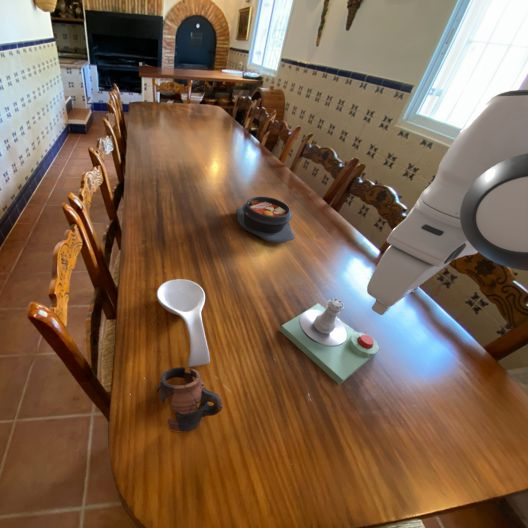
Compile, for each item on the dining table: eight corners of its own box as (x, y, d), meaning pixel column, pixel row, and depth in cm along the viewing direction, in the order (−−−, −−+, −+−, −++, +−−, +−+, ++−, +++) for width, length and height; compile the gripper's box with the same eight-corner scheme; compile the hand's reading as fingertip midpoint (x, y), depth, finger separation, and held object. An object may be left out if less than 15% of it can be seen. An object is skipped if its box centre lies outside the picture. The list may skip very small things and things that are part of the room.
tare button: (372, 345, 65) (376, 341, 64) (366, 350, 64) (369, 346, 63) (361, 337, 66) (364, 332, 65) (355, 342, 65) (358, 337, 64)
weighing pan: (354, 334, 66) (355, 332, 66) (327, 354, 62) (328, 353, 61) (316, 305, 72) (317, 304, 72) (289, 322, 68) (290, 320, 68)
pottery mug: (151, 431, 52) (147, 388, 50) (168, 398, 61) (165, 361, 59) (220, 442, 48) (218, 396, 47) (227, 406, 57) (226, 366, 56)
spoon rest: (152, 290, 78) (153, 270, 73) (195, 285, 80) (198, 265, 76) (172, 371, 60) (174, 351, 56) (226, 362, 63) (232, 341, 58)
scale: (376, 355, 67) (384, 345, 64) (340, 386, 60) (348, 377, 58) (315, 308, 77) (320, 298, 74) (279, 330, 70) (283, 321, 68)
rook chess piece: (324, 317, 69) (338, 292, 64) (337, 332, 66) (353, 307, 61) (308, 321, 68) (321, 296, 63) (321, 336, 64) (336, 312, 59)
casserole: (223, 213, 112) (227, 192, 107) (264, 207, 118) (270, 187, 113) (259, 251, 95) (266, 229, 89) (306, 242, 100) (315, 221, 95)
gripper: (450, 201, 46) (403, 269, 55) (384, 234, 37) (340, 310, 45) (500, 218, 42) (442, 289, 51) (441, 261, 33) (381, 339, 41)
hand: (393, 299), depth 48 cm, fingers open, 8 cm apart
